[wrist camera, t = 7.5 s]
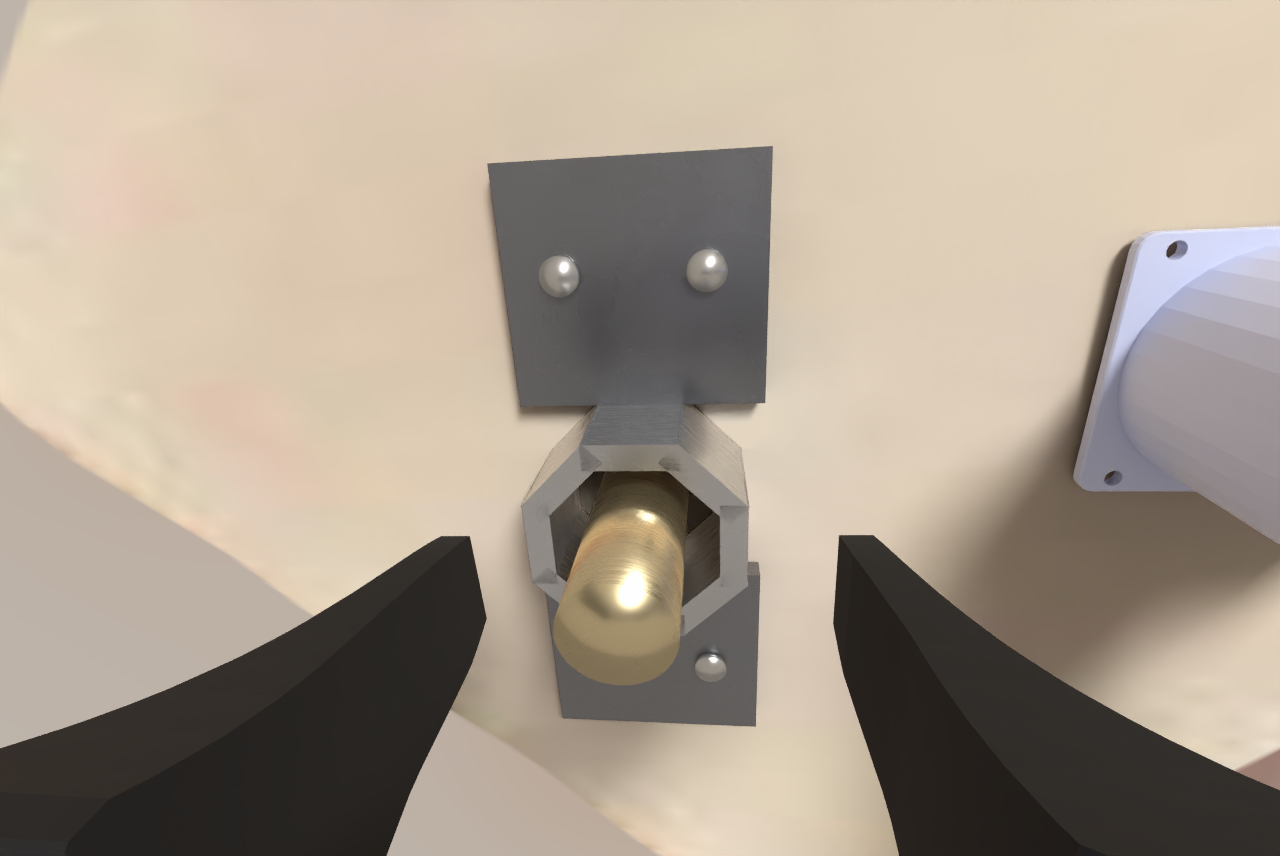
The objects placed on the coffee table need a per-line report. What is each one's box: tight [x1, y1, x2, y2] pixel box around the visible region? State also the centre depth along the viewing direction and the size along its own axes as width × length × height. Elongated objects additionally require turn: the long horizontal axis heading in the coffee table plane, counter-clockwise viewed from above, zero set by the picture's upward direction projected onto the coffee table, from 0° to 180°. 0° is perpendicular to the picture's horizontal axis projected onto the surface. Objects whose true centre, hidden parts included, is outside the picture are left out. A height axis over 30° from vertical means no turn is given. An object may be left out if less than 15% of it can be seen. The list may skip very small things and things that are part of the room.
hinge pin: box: [553, 471, 689, 685], centre depth 18 cm, size 3×3×8 cm
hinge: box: [487, 146, 773, 727], centre depth 20 cm, size 21×8×4 cm, turn 3°
